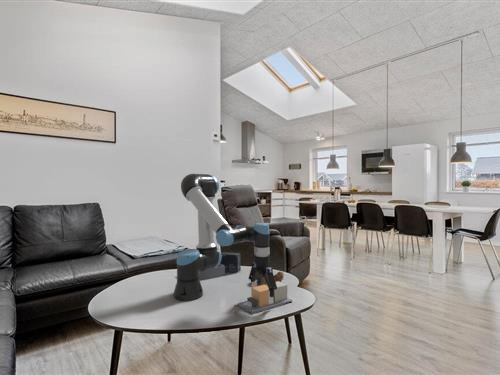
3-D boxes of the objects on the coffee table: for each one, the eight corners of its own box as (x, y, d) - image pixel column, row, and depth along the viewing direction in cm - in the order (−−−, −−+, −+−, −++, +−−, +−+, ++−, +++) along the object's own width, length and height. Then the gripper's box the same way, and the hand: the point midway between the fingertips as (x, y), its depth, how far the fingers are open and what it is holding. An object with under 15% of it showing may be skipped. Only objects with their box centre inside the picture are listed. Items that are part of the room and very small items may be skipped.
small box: (241, 270, 202) (240, 252, 202) (237, 273, 196) (237, 255, 195) (223, 268, 206) (223, 251, 206) (219, 271, 199) (219, 254, 199)
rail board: (238, 305, 142) (238, 288, 142) (276, 294, 155) (276, 279, 155) (252, 313, 132) (252, 296, 132) (292, 302, 145) (292, 285, 145)
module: (251, 302, 143) (251, 287, 143) (264, 298, 148) (264, 284, 148) (259, 306, 137) (259, 291, 137) (273, 303, 142) (273, 288, 142)
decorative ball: (256, 285, 170) (256, 268, 170) (252, 280, 180) (252, 264, 180) (273, 284, 173) (273, 267, 173) (268, 279, 182) (268, 262, 182)
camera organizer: (183, 275, 191) (183, 266, 191) (213, 269, 204) (213, 261, 204) (193, 281, 178) (193, 271, 178) (225, 275, 190) (224, 266, 190)
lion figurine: (282, 285, 170) (282, 270, 170) (285, 288, 165) (284, 272, 165) (257, 287, 168) (257, 271, 168) (259, 290, 163) (259, 274, 163)
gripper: (241, 251, 151) (242, 292, 151) (271, 261, 130) (271, 309, 130) (253, 249, 155) (254, 289, 155) (284, 259, 134) (284, 305, 134)
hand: (262, 298), depth 143 cm, fingers open, 13 cm apart
